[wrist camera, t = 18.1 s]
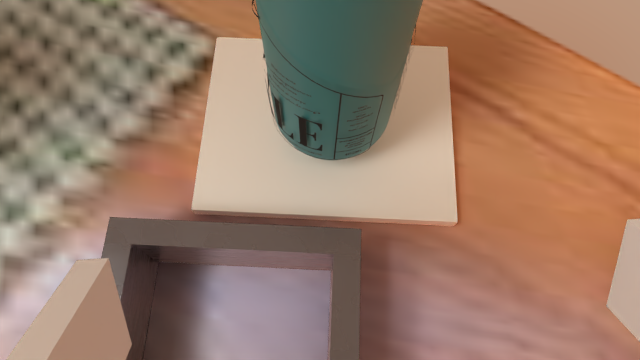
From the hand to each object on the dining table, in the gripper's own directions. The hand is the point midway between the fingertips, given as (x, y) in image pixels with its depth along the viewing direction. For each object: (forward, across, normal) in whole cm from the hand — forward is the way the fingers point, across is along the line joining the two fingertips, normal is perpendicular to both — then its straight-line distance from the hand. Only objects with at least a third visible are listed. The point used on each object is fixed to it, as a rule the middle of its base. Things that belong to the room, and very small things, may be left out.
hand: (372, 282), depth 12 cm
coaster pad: (+16, 0, -1) cm, 17 cm away
